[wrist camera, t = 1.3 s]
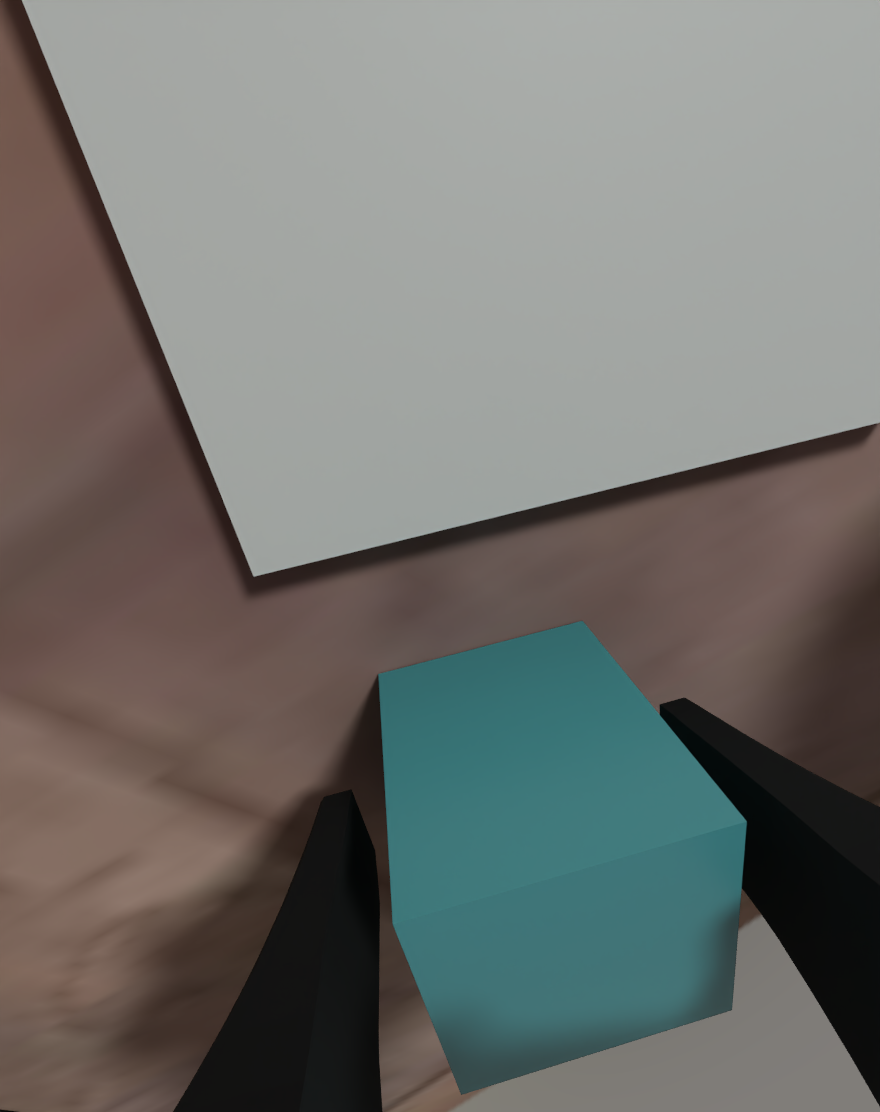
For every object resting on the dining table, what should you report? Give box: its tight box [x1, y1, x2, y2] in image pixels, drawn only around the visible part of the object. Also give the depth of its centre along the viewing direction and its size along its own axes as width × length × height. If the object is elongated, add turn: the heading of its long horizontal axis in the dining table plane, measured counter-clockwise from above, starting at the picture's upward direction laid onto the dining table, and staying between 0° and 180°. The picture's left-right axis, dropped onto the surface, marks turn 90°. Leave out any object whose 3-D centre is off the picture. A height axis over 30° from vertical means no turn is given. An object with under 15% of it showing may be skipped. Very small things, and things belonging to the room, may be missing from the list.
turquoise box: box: [378, 621, 747, 1095], centre depth 10 cm, size 5×5×6 cm
